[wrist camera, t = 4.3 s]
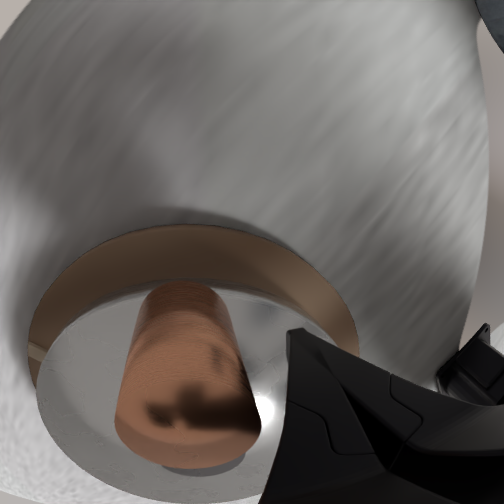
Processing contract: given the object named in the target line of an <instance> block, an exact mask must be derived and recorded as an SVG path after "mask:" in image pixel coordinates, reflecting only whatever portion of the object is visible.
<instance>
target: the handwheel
mask: <svg viewBox="0 0 504 504" xmlns="http://www.w3.org/2000/svg"><path fill="white" fill-rule="evenodd" d="M302 327H303V328H305V329H306V330H307V331H308V332H310V333H312V334H313V335H315V336H317V337H319V338H321V339H323V340H325V341H327V342H329V343H331V344H333V345H335V346H337V344H336V343H335V342H334V341H333V339H332V338H331V337H330V336H329V334H328V333H327V332H326V331H325V330H324V328H323V327H322V326H321V325H320V324H319V323H318V322H317V321H316V320H315V319H314V318H313V317H312V316H310V315H309V314H308V313H307V312H305V311H304V310H303V309H302V308H300V307H298V306H297V305H295V304H293V303H291V302H290V301H288V300H286V299H285V298H283V297H280V296H278V295H275V294H273V293H270V292H268V291H266V290H263V289H260V288H257V287H253V286H249V285H245V284H242V283H238V282H232V281H225V280H218V279H212V278H172V279H161V280H153V281H148V282H144V283H139V284H135V285H130V286H127V287H125V288H122V289H119V290H116V291H114V292H111V293H108V294H106V295H104V296H102V297H101V298H99V299H97V300H95V301H93V302H91V303H90V304H88V305H87V306H85V307H84V308H83V309H82V310H80V311H79V312H78V313H76V314H75V315H74V316H73V317H72V318H71V319H70V320H69V321H68V322H67V324H66V325H65V326H64V327H63V328H62V329H61V331H60V332H59V334H58V336H57V337H56V339H55V340H54V342H53V344H52V346H51V347H50V349H49V351H48V352H47V354H46V356H45V358H44V360H43V362H42V364H41V366H40V370H39V373H38V377H37V387H36V396H37V403H38V408H39V412H40V415H41V418H42V420H43V423H44V425H45V426H46V428H47V430H48V432H49V434H50V435H51V437H52V438H53V440H54V441H55V442H56V444H57V445H58V446H59V448H60V449H61V450H62V451H63V452H64V453H65V454H66V455H67V456H68V457H69V458H70V459H71V460H72V461H73V462H75V463H76V464H77V465H78V466H79V467H81V468H82V469H83V470H85V471H86V472H88V473H89V474H91V475H92V476H94V477H96V478H97V479H99V480H101V481H103V482H104V483H106V484H108V485H111V486H113V487H115V488H117V489H120V490H122V491H125V492H128V493H130V494H133V495H137V496H140V497H144V498H148V499H153V500H158V501H163V502H171V503H181V504H211V503H221V502H228V501H234V500H239V499H244V498H248V497H251V496H255V495H258V494H261V493H263V491H264V488H265V485H266V482H267V479H268V476H269V473H270V470H271V467H272V464H273V461H274V458H275V455H276V451H277V448H278V445H279V441H280V437H281V433H282V429H283V422H284V414H285V404H286V389H287V374H288V362H287V357H286V332H287V330H290V329H296V328H302ZM337 347H338V346H337Z"/></svg>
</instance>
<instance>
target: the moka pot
mask: <svg viewBox="0 0 504 504" xmlns="http://www.w3.org/2000/svg"><path fill="white" fill-rule="evenodd" d="M475 2H476V5H477V7H478V10H479V12H480V14H481V17H482V19H483V21H484V23H485V25H486V27H487V28H488V30H489V32H490V34H491V36H492V37H493V39H494V40H495V42H496V43H497V45H498V46H499V48H500V49H501V50H502V52H503V53H504V0H475Z"/></svg>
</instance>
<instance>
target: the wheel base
mask: <svg viewBox="0 0 504 504" xmlns="http://www.w3.org/2000/svg"><path fill="white" fill-rule="evenodd" d="M172 278H212V279H218V280H225V281H232V282H238V283H242V284H245V285H249V286H253V287H257V288H260V289H263V290H266V291H268V292H270V293H273V294H275V295H278V296H280V297H283V298H285V299H286V300H288V301H290V302H291V303H293V304H295V305H297V306H298V307H300V308H302V309H303V310H304V311H305V312H307V313H308V314H309V315H310V316H312V317H313V318H314V319H315V320H316V321H317V322H318V323H319V324H320V325H321V326H322V327H323V328H324V330H325V331H326V332H327V333H328V334H329V336H330V337H331V338H332V339H333V341H334V342H335V343H336V344H337V346H338V347H339V348H341V349H343V350H345V351H347V352H349V353H351V354H353V355H355V356H357V357H359V342H358V335H357V332H356V328H355V324H354V321H353V319H352V316H351V314H350V312H349V310H348V308H347V306H346V304H345V303H344V301H343V300H342V298H341V297H340V296H339V294H338V293H337V291H336V290H335V289H334V287H333V286H332V285H331V284H330V283H329V282H327V281H326V280H325V279H324V278H323V277H322V276H321V275H320V274H319V273H318V272H317V271H316V270H315V269H314V268H313V267H312V266H311V265H309V264H308V263H307V262H305V261H304V260H302V259H301V258H300V257H298V256H297V255H295V254H294V253H293V252H291V251H289V250H287V249H285V248H283V247H282V246H280V245H278V244H276V243H274V242H272V241H270V240H267V239H265V238H262V237H259V236H256V235H253V234H250V233H247V232H244V231H240V230H235V229H230V228H225V227H220V226H215V225H198V224H176V225H164V226H155V227H150V228H146V229H141V230H137V231H132V232H129V233H126V234H123V235H121V236H118V237H116V238H113V239H110V240H108V241H105V242H103V243H102V244H100V245H98V246H97V247H95V248H93V249H91V250H90V251H88V252H86V253H85V254H83V255H82V256H81V257H80V258H78V259H77V260H76V261H75V262H74V263H72V264H71V265H70V266H69V267H68V268H66V269H65V270H64V271H63V272H62V274H61V275H60V276H59V277H58V278H57V279H56V280H55V281H54V283H53V284H52V285H51V286H50V288H49V289H48V290H47V291H46V293H45V294H44V296H43V298H42V299H41V301H40V303H39V305H38V307H37V309H36V311H35V313H34V317H33V320H32V323H31V326H30V330H29V339H28V362H29V368H30V373H31V377H32V381H33V384H34V386H35V389H36V387H37V377H38V373H39V370H40V366H41V364H42V362H43V360H44V358H45V356H46V354H47V352H48V351H49V349H50V347H51V346H52V344H53V342H54V340H55V339H56V337H57V336H58V334H59V332H60V331H61V329H62V328H63V327H64V326H65V325H66V324H67V322H68V321H69V320H70V319H71V318H72V317H73V316H74V315H75V314H76V313H78V312H79V311H80V310H82V309H83V308H84V307H85V306H87V305H88V304H90V303H91V302H93V301H95V300H97V299H99V298H101V297H102V296H104V295H106V294H108V293H111V292H114V291H116V290H119V289H122V288H125V287H127V286H130V285H135V284H139V283H144V282H148V281H153V280H161V279H172Z"/></svg>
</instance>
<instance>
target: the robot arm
mask: <svg viewBox="0 0 504 504" xmlns="http://www.w3.org/2000/svg"><path fill="white" fill-rule="evenodd" d="M286 357H287V362H288V374H287V389H286V404H285V414H284V422H283V429H282V433H281V437H280V441H279V445H278V448H277V451H276V455H275V458H274V461H273V464H272V467H271V470H270V473H269V476H268V479H267V482H266V485H265V488H264V491H263V493H262V496H261V498H260V500H259V503H258V504H504V355H503V354H502V353H500V352H499V351H498V350H496V349H495V348H494V347H492V346H491V345H490V325H488V324H487V323H484V324H483V325H482V327H481V328H480V329H479V330H478V331H477V332H476V334H475V335H474V336H473V337H472V338H471V339H470V340H469V341H468V342H467V343H466V345H464V347H463V348H462V349H461V350H460V351H459V352H458V353H457V354H456V355H455V356H454V357H453V358H452V359H451V360H450V361H449V362H448V363H447V364H446V365H445V366H444V367H443V368H442V369H441V370H440V371H439V372H438V373H437V375H436V379H437V383H438V387H439V391H440V393H438V392H435V391H432V390H430V389H427V388H424V387H421V386H419V385H416V384H414V383H412V382H409V381H407V380H405V379H403V378H400V377H398V376H396V375H394V374H390V372H388V371H385V370H383V369H381V368H379V367H377V366H375V365H373V364H371V363H369V362H367V361H365V360H363V359H361V358H359V357H357V356H355V355H353V354H351V353H349V352H347V351H345V350H343V349H341V348H339V347H337V346H335V345H333V344H331V343H329V342H327V341H325V340H323V339H321V338H319V337H317V336H315V335H313V334H312V333H310V332H308V331H307V330H306V329H305V328H303V327H302V328H296V329H290V330H287V332H286Z"/></svg>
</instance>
